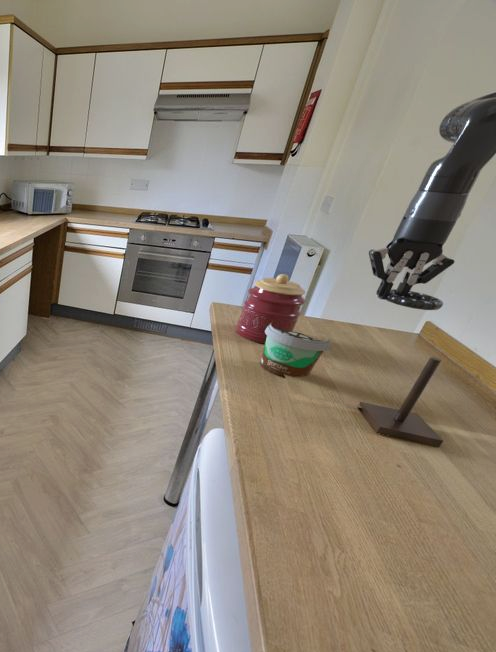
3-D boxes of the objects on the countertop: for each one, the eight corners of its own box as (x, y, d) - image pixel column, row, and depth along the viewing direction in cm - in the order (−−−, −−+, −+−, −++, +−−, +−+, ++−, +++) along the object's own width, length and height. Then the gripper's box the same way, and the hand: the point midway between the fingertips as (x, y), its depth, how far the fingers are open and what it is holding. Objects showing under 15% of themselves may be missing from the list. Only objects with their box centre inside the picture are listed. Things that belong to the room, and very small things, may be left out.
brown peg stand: (413, 419, 79) (454, 353, 73) (439, 447, 72) (487, 376, 66) (357, 407, 82) (391, 343, 76) (376, 433, 75) (416, 364, 68)
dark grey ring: (425, 300, 89) (430, 292, 88) (450, 314, 81) (454, 306, 80) (373, 293, 92) (377, 285, 91) (392, 306, 84) (396, 298, 83)
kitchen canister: (263, 348, 106) (288, 282, 98) (224, 328, 117) (243, 268, 109) (300, 343, 110) (327, 280, 102) (259, 324, 121) (280, 266, 113)
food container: (246, 367, 96) (261, 328, 92) (254, 359, 100) (268, 321, 96) (309, 389, 88) (328, 347, 84) (315, 379, 92) (333, 339, 88)
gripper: (464, 217, 81) (420, 299, 89) (378, 210, 86) (343, 289, 93) (489, 222, 75) (439, 310, 82) (395, 215, 79) (356, 299, 87)
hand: (388, 299), depth 88 cm, fingers closed on dark grey ring, 2 cm apart
